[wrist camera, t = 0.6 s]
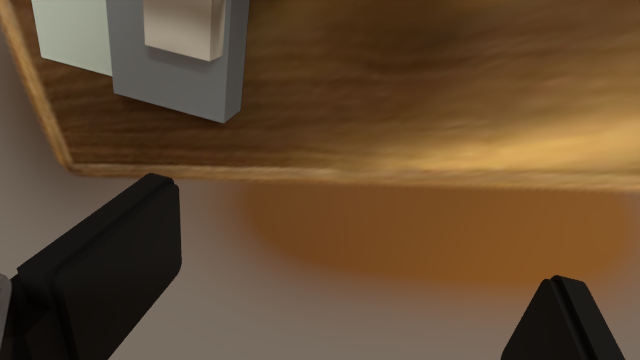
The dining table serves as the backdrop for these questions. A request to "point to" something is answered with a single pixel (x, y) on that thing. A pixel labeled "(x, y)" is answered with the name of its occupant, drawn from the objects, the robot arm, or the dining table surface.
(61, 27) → the sage mat
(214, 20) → the cream tile
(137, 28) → the slate deck
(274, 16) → the dining table surface
